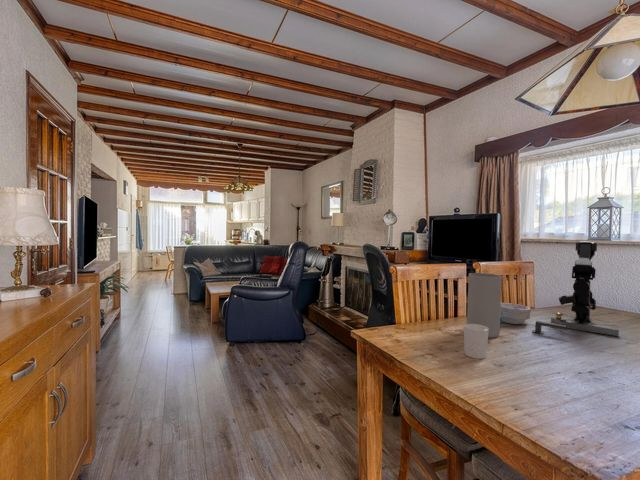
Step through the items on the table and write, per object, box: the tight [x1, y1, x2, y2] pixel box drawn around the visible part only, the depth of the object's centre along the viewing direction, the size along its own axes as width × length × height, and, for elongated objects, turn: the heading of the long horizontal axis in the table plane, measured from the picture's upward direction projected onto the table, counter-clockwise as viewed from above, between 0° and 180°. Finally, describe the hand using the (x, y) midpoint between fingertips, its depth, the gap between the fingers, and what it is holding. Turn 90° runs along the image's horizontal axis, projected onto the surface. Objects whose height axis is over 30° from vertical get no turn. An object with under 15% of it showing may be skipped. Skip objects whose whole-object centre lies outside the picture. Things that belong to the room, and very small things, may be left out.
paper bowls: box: [500, 302, 531, 325], centre depth 163 cm, size 15×15×8 cm
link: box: [550, 316, 620, 337], centre depth 151 cm, size 24×6×3 cm, turn 50°
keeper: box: [531, 320, 567, 335], centre depth 144 cm, size 4×12×5 cm, turn 50°
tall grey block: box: [466, 272, 503, 339], centre depth 143 cm, size 12×12×25 cm
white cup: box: [463, 323, 489, 360], centre depth 118 cm, size 8×8×10 cm
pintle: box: [554, 311, 564, 319], centre depth 157 cm, size 7×7×6 cm
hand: (580, 324), depth 154 cm, fingers closed
